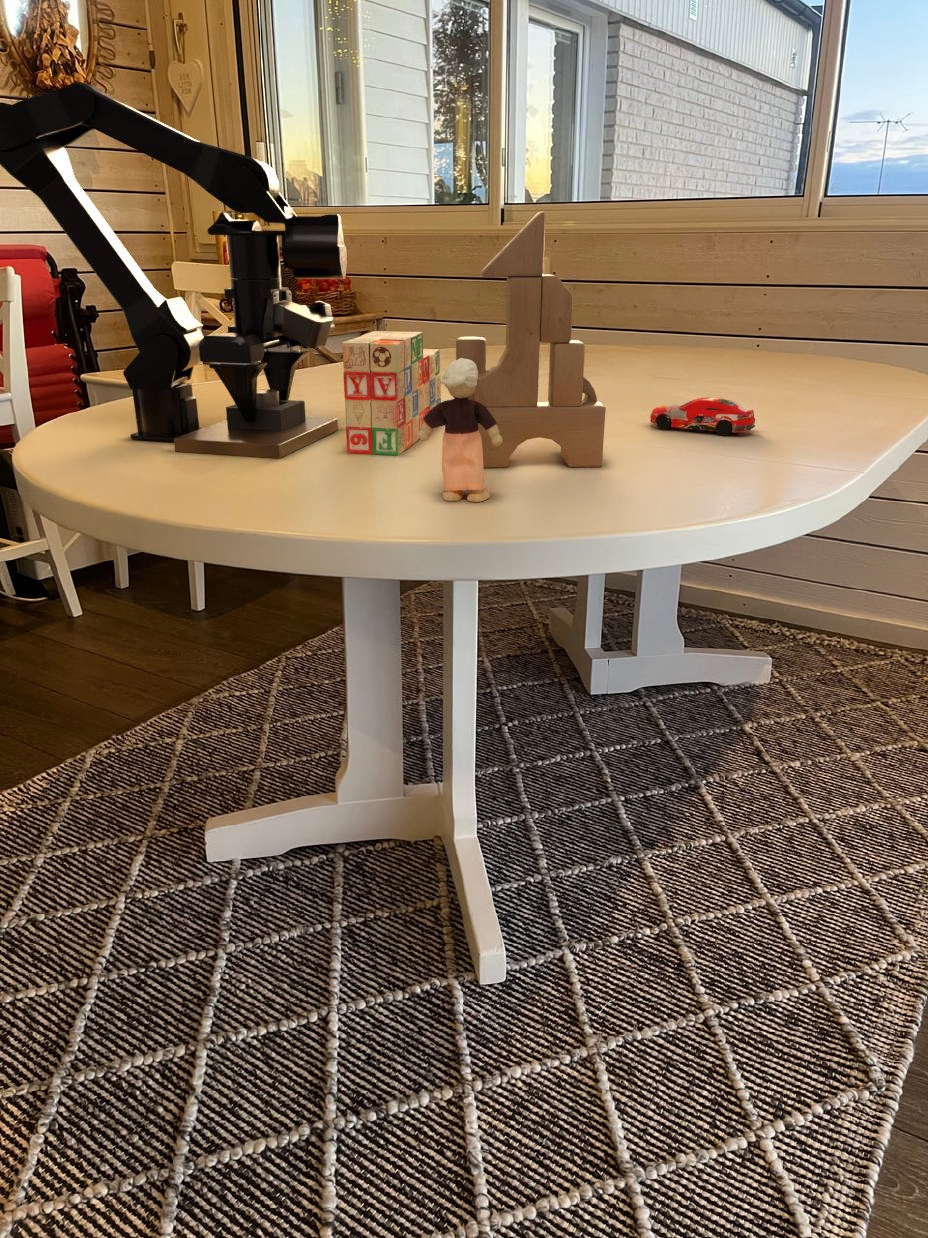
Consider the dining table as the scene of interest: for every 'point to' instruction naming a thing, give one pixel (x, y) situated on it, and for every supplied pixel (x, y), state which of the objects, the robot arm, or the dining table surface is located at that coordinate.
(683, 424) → the race car
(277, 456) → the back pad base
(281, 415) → the rubber pad
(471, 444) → the grandmother figurine
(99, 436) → the dining table surface
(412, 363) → the stack of blocks
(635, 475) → the dining table surface
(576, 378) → the wooden toy
